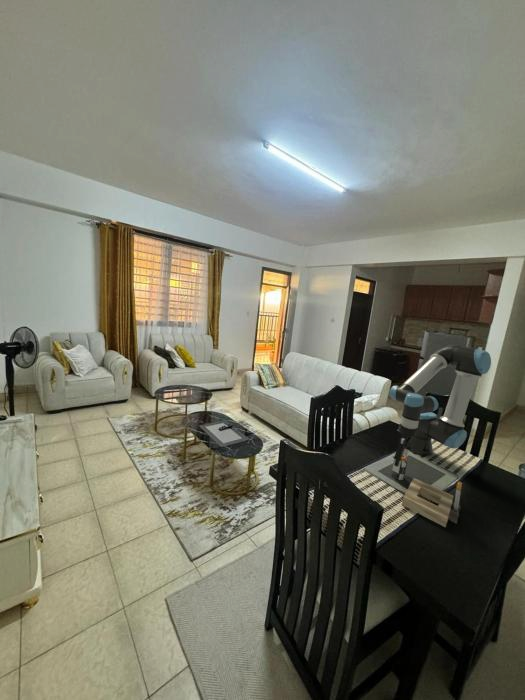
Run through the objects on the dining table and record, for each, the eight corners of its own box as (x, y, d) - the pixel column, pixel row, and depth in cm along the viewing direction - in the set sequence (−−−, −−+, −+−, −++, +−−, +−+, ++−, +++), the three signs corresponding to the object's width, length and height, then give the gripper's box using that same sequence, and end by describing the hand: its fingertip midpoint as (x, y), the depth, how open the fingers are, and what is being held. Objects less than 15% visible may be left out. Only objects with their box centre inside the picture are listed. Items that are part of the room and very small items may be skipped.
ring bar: (453, 510, 115) (458, 479, 113) (457, 511, 115) (462, 480, 113) (452, 514, 113) (457, 483, 111) (456, 516, 112) (461, 485, 110)
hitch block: (411, 485, 132) (413, 477, 131) (459, 507, 120) (462, 499, 119) (401, 504, 118) (403, 496, 117) (454, 532, 106) (457, 523, 106)
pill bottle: (405, 481, 134) (410, 460, 132) (392, 478, 135) (397, 458, 133) (402, 473, 140) (406, 453, 138) (389, 471, 141) (393, 451, 139)
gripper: (406, 416, 144) (398, 453, 148) (392, 430, 125) (383, 472, 129) (422, 421, 139) (413, 459, 144) (410, 437, 120) (400, 480, 125)
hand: (399, 465), depth 136 cm, fingers open, 13 cm apart
